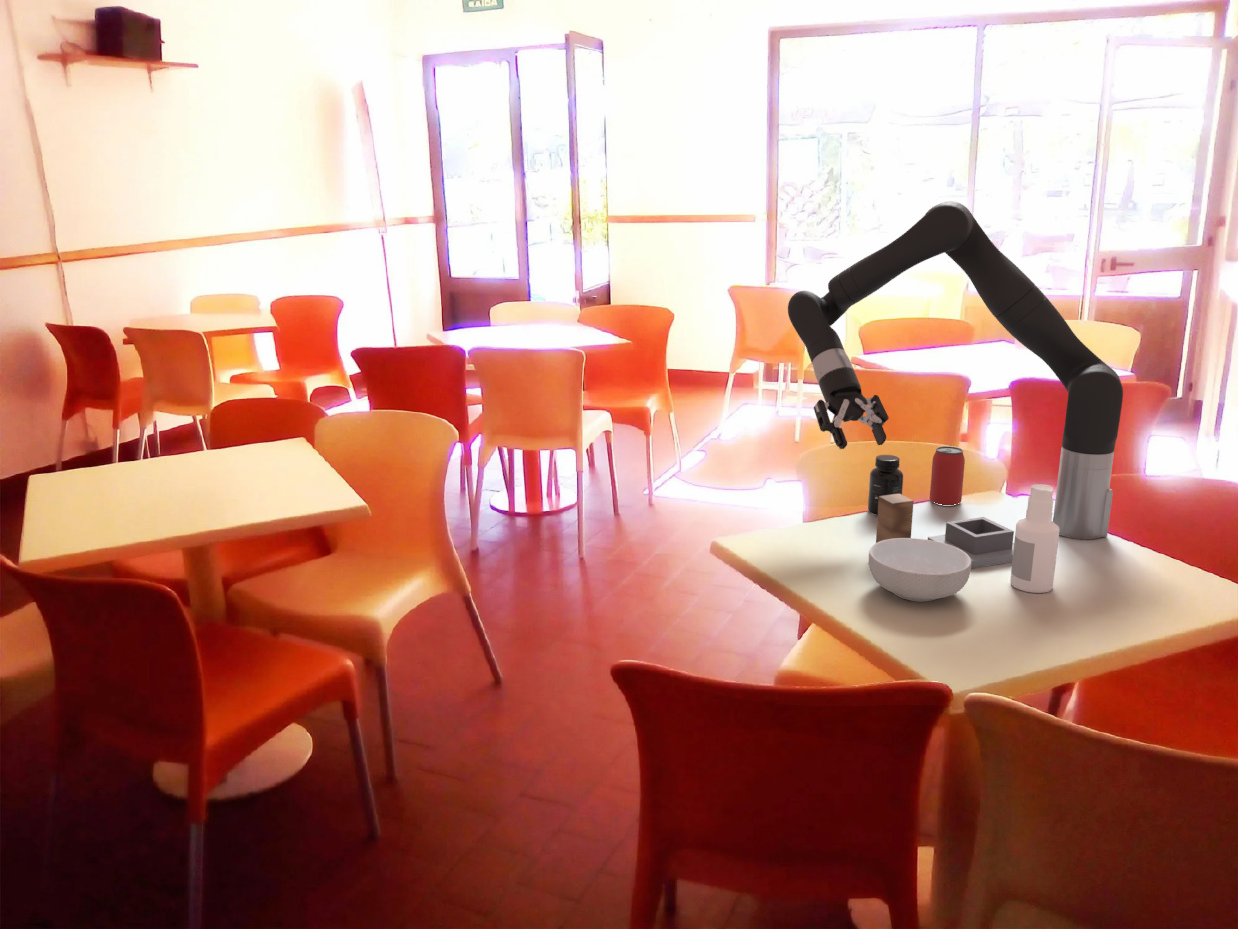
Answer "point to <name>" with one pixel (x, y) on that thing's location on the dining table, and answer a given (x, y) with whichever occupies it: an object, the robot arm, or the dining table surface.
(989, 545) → the socket pad
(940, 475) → the beer can
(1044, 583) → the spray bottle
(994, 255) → the robot arm
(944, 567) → the cereal bowl
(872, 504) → the supplement bottle
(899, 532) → the walnut peg
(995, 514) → the dining table surface
